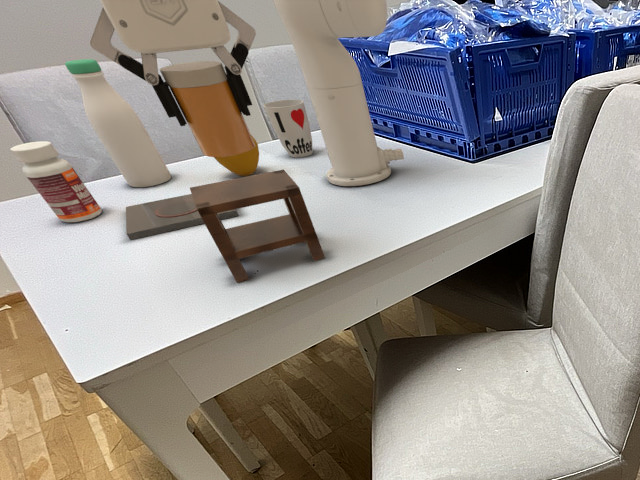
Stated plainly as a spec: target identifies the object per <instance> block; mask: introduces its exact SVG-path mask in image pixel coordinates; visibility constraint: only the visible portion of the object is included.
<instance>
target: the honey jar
mask: <svg viewBox="0 0 640 480" xmlns="http://www.w3.org/2000/svg"><path fill="white" fill-rule="evenodd" d="M222 63H223V62H221V61H213V60H203V61H202V60H201V61H189V62H188V61H187V62H181V63H175V64H170V65H166V66H163V67H161V68H160V69H159V72H160V74H161V77H162V79H164V80H163V81H164V82H166V84H167V85H168V87H169V89H170V91H171V93H172V95H173V97H174V99H175V101H176V103H177V105H178V107H179V109H180V111H181V113H182V115H183V117H184V119H185V121H186V123H187V125H188V127H189V129H190V132H191V133H192V135H193V137H194V139H195V141H196V143H197V145H198V147H199V149H200V151H201V153H202V155H203V156H205V157H210V158H214V157H226V156H233V155H238V154H241V153H245V152H247V151H250V150H252V149H253V148H254V147H255V143H254V141H253V139H252V136H253V135H252V134H251V132H250V129H249V127H248V125H247V122H246V120H245V117H244V114H243V113H242V112H241V110H240V108H239V106H238V103H237V101H236V99H235V96H234V94H233V92H232V89H231V87H230V84H229V82H228V77H227V75H226V70H225V67H224V65H223V64H222ZM251 135H252V136H251Z"/></svg>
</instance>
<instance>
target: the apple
mask: <svg viewBox="0 0 640 480" xmlns="http://www.w3.org/2000/svg"><path fill="white" fill-rule="evenodd" d="M251 136H252V139H253V141H254V143H255V147H254V148H253V149H252V150H250V151H247V152H245V153H241V154H238V155H233V156H226V157H213V158H214V159H215V161H217V163H218V164H220V165H221V166H222V167H224V168H225V169H226V170H228V171H229V172H231V173H232V174H235V175H237V176H240V177H247V176H252V175H254V174H255V172H256V171H257V169H258V165H259V161H260V150H259V149H260V148H259V144H258V142H257V140H256V138H255V137H254V136H253V135H252V134H251Z"/></svg>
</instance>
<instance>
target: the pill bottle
mask: <svg viewBox="0 0 640 480" xmlns="http://www.w3.org/2000/svg"><path fill="white" fill-rule="evenodd" d="M10 152H11V153H12V154H13V155H14V157H15V158H16V160H17V161H18V162H19V163H24V165H23V166H22V172H23V174H24V175H25V177H26V178H27V180H28V181H29V182H30V183H31V184H32V186H33V187H34V189H35V190H36V191H37V192H38V194H39V195H40V196H41V197H42V199H43V200H44V202H45V203H46V204H47V205H48V206H49V208H50V209H51V211H52V212H53V214H55V216H56V217H57V218H58V219H59V220H60V221H61V222H64V223H79V222H84V221H89V220H92V219H94V218H96V217H98V216H100V215H101V214H102V211H103V210H102V208H101V206H100V205H99V203H98V201H96V199H95V197H93V195H92V193H91V191H89V189H88V188H87V186H86V184H85V183H84V182H83V181H82V179H81V178H80V176H79V175H78V173H77V171H76V170H75V169H74V167H73V166H72V165H71V164H70V162H69V161H67V160H66V159H64V158H61V157H57V156H59V152H58V151H57V150H56V148H55V147H54V145H53V144H52V143H51V142H50V141H47V140H44V141H43V140H42V141H41V140H39V141H31V142H26V143H21V144H17V145H14V146H12V147H11V148H10Z"/></svg>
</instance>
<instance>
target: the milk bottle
mask: <svg viewBox="0 0 640 480" xmlns="http://www.w3.org/2000/svg"><path fill="white" fill-rule="evenodd" d="M64 65H65V67H66V69H67V71H68V72H69V74H70V75H71V76H72V78H73V79H75V81H76V82H77V85H78V87H79V89H80V93H81V97H82V102H83V103H82V104H83V108H84V109H83V110H84V112H85V115H86V118H87V120H88V122H89V124H90V125H91V127H92V128H93V131H94V132H95V134H96V136H97V137H98V139H99V140H100V142H101V143H102V145H103V147H104V149H105V150H106V151H107V153H108V155H109V157H110V158H111V160H112V161H113V163H114V164H115V166H116V168H117V169H118V171H119V172H120V175H122V177H123V178H124V180H125V182H126V184H128V186H130V187H132V188H146V187H153V186H158V185H161V184H163V183H166V182H168V181H170V180H171V178H172V174H171V173H170V170H169V168H168V166H167V165H166V163H165V161H164V159H163V157H162V156H161V153H159V150H158V149H157V147H156V145H155V143H154V142H153V140H152V138H151V136H150V134H149V133H148V131H147V129H146V127H145V125H144V124H143V122H142V120H141V118H140V117H139V115H138V113H137V112H136V111H135V110H134V107H132V106H131V104H130V103H129V102H128V101H127V100H125V98H124V97H122V95H120V94H119V93H118V92H117V91H116V90H115V89H114V88H113V87H112V86H111V84H110V83H109V82H108V80H107V79H106V77H105V76H104V75H105V73H104V72H103V70H102V68H101V65H100V64H99V62H98V61H97V60H96V59H93V58H89V59H87V58H86V59H75V60H69V61H65V62H64Z"/></svg>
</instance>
